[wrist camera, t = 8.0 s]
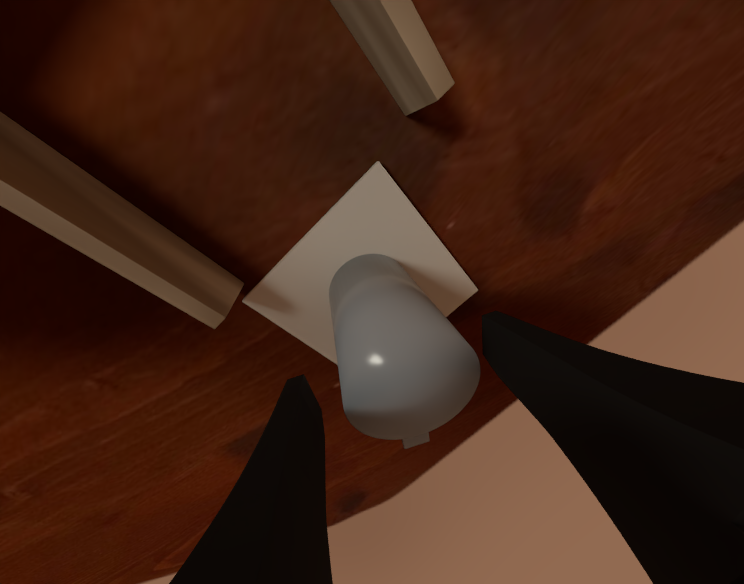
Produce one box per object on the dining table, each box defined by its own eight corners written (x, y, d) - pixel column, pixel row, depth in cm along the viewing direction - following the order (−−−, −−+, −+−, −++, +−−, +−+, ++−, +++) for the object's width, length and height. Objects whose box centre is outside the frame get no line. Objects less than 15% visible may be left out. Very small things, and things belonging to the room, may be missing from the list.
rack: (235, 292, 14) (214, 329, 11) (-137, 42, 8) (-409, -31, 5) (417, 103, 12) (455, 83, 9) (92, -425, 6) (-138, -1040, 3)
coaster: (365, 379, 19) (366, 384, 18) (243, 298, 14) (241, 301, 14) (475, 287, 17) (478, 289, 17) (376, 161, 13) (379, 161, 12)
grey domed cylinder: (318, 265, 14) (325, 358, 7) (404, 244, 14) (482, 314, 8) (348, 362, 17) (370, 486, 11) (416, 343, 18) (477, 450, 11)
